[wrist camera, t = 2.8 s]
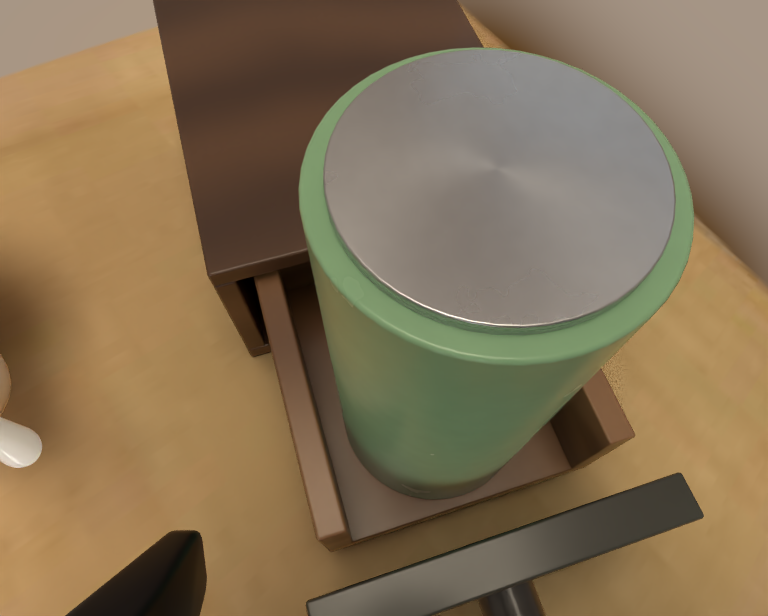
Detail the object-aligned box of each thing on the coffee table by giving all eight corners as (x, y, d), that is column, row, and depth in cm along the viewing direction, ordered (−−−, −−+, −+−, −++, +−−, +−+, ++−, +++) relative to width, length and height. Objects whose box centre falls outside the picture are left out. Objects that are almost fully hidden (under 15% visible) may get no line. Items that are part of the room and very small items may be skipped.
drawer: (651, 572, 18) (733, 566, 14) (342, 686, 17) (330, 718, 12) (489, 233, 24) (513, 156, 20) (251, 296, 22) (221, 228, 18)
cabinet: (519, 283, 24) (563, 184, 18) (251, 357, 22) (207, 276, 16) (416, 68, 29) (425, -58, 24) (197, 115, 28) (150, -7, 22)
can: (547, 466, 18) (793, 285, 8) (372, 525, 18) (361, 416, 7) (479, 310, 21) (588, 4, 10) (323, 354, 20) (257, 73, 9)
